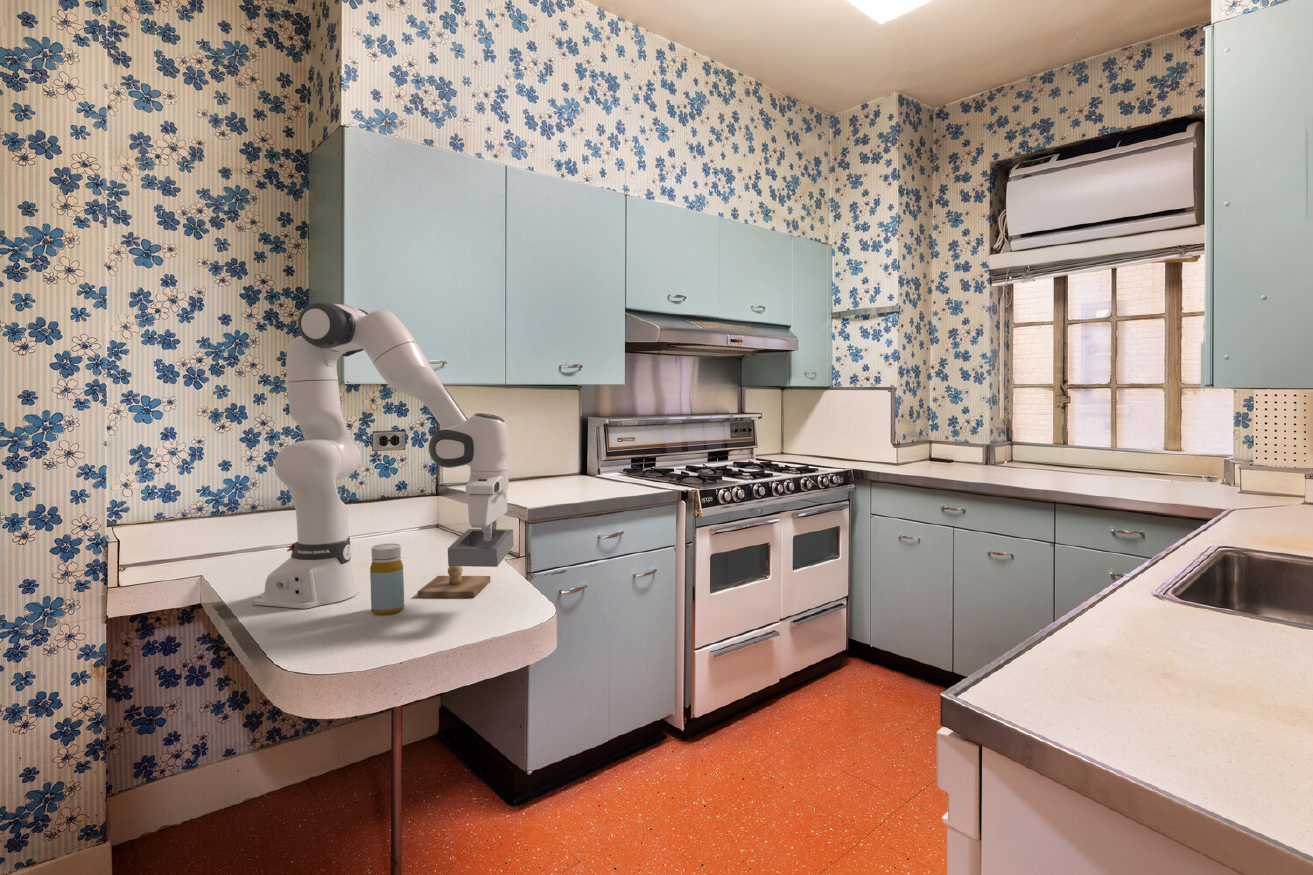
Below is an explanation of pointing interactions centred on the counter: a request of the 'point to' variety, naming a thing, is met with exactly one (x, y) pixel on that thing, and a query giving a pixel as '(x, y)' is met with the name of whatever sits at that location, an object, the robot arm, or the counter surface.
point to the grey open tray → (480, 548)
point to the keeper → (454, 585)
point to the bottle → (386, 579)
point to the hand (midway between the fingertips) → (490, 539)
